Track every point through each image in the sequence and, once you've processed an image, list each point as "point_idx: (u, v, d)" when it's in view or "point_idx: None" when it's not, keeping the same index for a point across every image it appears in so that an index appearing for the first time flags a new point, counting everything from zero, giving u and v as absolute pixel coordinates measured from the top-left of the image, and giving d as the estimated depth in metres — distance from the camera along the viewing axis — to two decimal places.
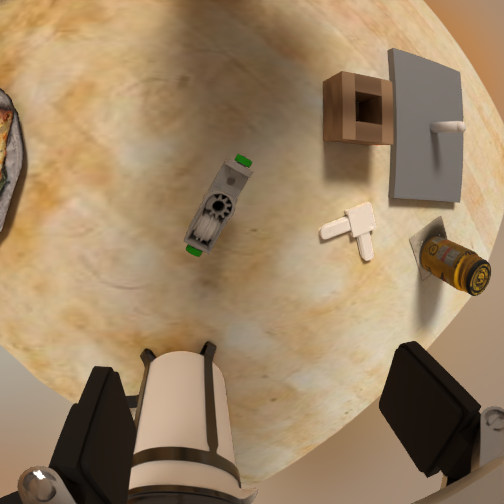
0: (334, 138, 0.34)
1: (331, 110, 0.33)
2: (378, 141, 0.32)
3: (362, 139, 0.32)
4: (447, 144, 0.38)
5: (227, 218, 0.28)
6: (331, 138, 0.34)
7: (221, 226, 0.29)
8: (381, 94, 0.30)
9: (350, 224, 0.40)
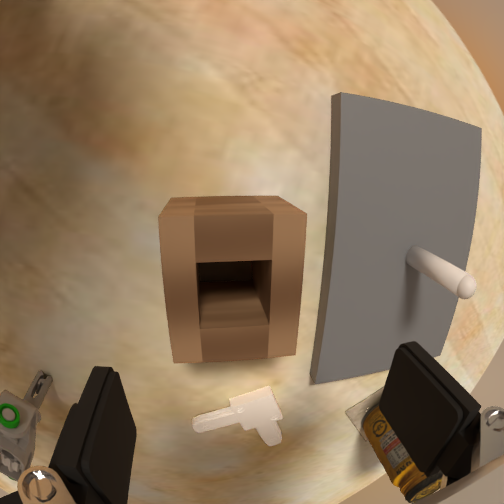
0: None
1: None
2: (258, 356, 0.17)
3: (219, 359, 0.16)
4: None
5: (21, 467, 0.13)
6: None
7: (21, 469, 0.13)
8: (271, 255, 0.15)
9: (237, 418, 0.25)
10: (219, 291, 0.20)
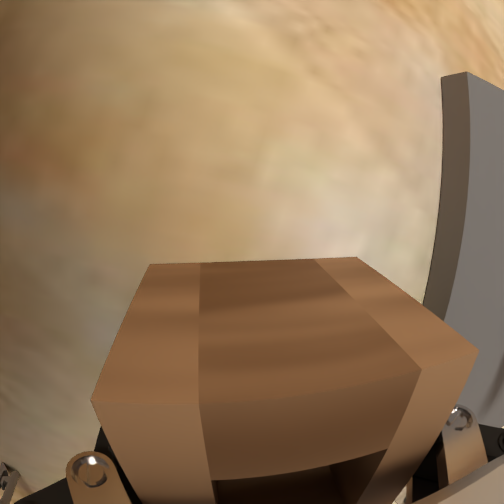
0: None
1: None
2: None
3: None
4: None
5: None
6: None
7: None
8: (389, 443, 0.05)
9: None
10: None
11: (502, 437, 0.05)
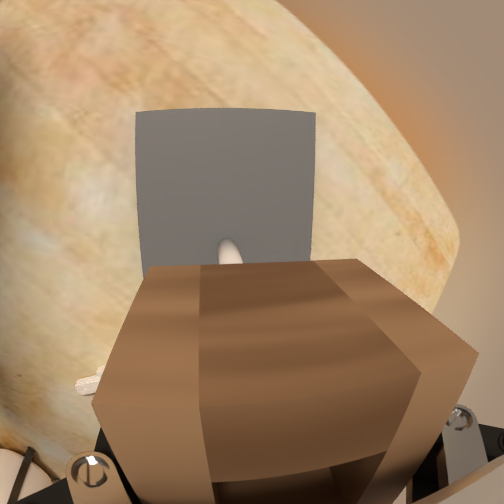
0: None
1: None
2: None
3: None
4: None
5: None
6: None
7: None
8: (388, 445, 0.05)
9: None
10: None
11: (502, 437, 0.05)
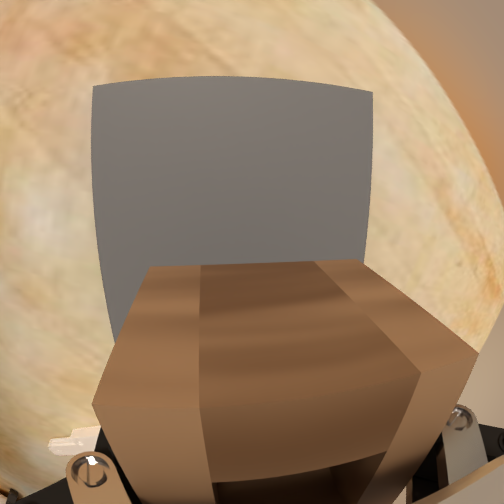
0: None
1: None
2: None
3: None
4: None
5: None
6: None
7: None
8: (388, 445, 0.05)
9: (82, 450, 0.19)
10: None
11: (502, 437, 0.05)
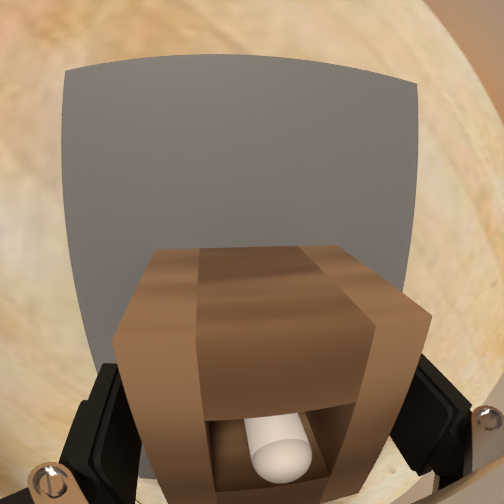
0: None
1: None
2: None
3: None
4: None
5: None
6: None
7: None
8: (356, 396, 0.07)
9: None
10: None
11: None
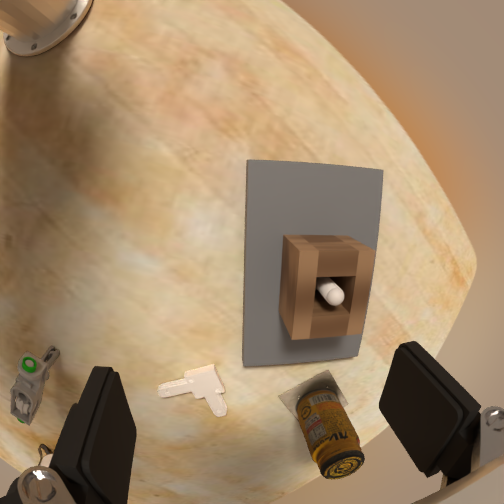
0: (286, 326, 0.28)
1: (287, 287, 0.28)
2: (341, 334, 0.27)
3: (319, 336, 0.27)
4: None
5: (31, 406, 0.23)
6: (284, 321, 0.29)
7: (30, 410, 0.23)
8: (355, 273, 0.25)
9: (190, 387, 0.34)
10: None
11: None
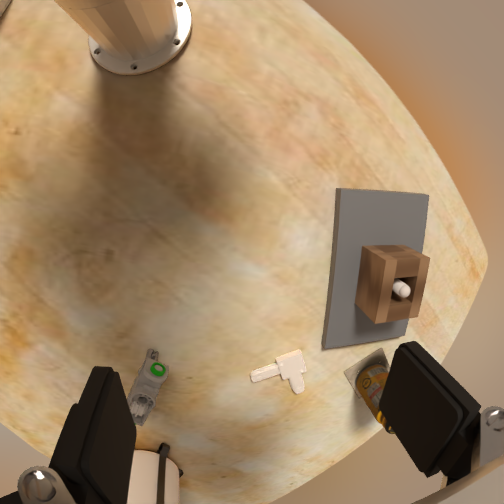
0: (366, 314, 0.37)
1: (368, 285, 0.36)
2: (405, 318, 0.35)
3: (391, 320, 0.35)
4: None
5: (151, 408, 0.31)
6: (363, 310, 0.38)
7: (148, 411, 0.31)
8: (417, 274, 0.34)
9: (279, 370, 0.42)
10: None
11: None
